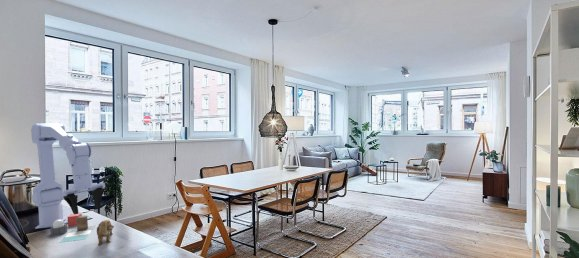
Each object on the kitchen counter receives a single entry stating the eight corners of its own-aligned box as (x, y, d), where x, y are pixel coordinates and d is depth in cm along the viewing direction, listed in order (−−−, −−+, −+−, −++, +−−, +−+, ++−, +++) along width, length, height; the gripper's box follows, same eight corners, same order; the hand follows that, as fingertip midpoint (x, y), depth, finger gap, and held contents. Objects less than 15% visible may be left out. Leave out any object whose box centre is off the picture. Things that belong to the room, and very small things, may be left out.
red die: (71, 223, 132) (70, 213, 131) (82, 221, 133) (81, 212, 133) (68, 226, 128) (67, 216, 128) (79, 224, 129) (78, 214, 129)
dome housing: (53, 231, 122) (53, 224, 122) (68, 229, 124) (68, 223, 123) (48, 236, 117) (48, 229, 117) (64, 234, 119) (63, 227, 119)
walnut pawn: (78, 228, 125) (78, 216, 125) (89, 226, 126) (88, 215, 126) (76, 231, 122) (75, 219, 121) (86, 229, 123) (85, 217, 123)
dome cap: (55, 227, 121) (54, 218, 121) (65, 226, 123) (65, 217, 122) (51, 230, 118) (50, 221, 118) (62, 229, 119) (61, 220, 119)
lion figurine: (115, 245, 108) (114, 220, 107) (97, 249, 105) (96, 223, 104) (112, 232, 120) (111, 210, 120) (96, 235, 117) (95, 212, 117)
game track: (73, 228, 125) (73, 228, 125) (95, 225, 128) (95, 225, 128) (59, 242, 111) (59, 242, 111) (85, 239, 114) (85, 239, 114)
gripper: (65, 178, 106) (71, 216, 106) (107, 171, 119) (112, 205, 118) (56, 179, 109) (61, 217, 109) (97, 172, 122) (102, 206, 122)
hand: (87, 211), depth 114 cm, fingers open, 7 cm apart
